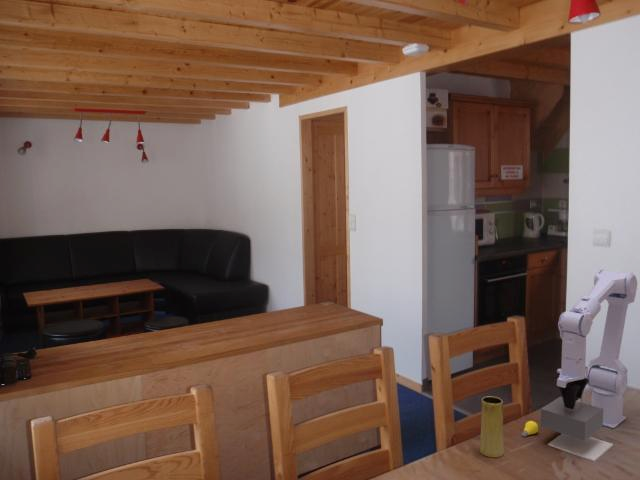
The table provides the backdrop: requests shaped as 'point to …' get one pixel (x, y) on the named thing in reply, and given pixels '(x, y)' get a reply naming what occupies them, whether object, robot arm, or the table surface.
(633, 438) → the table surface
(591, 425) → the cover
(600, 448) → the mat
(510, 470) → the table surface
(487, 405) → the vase
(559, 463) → the table surface
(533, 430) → the light bulb
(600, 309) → the robot arm
